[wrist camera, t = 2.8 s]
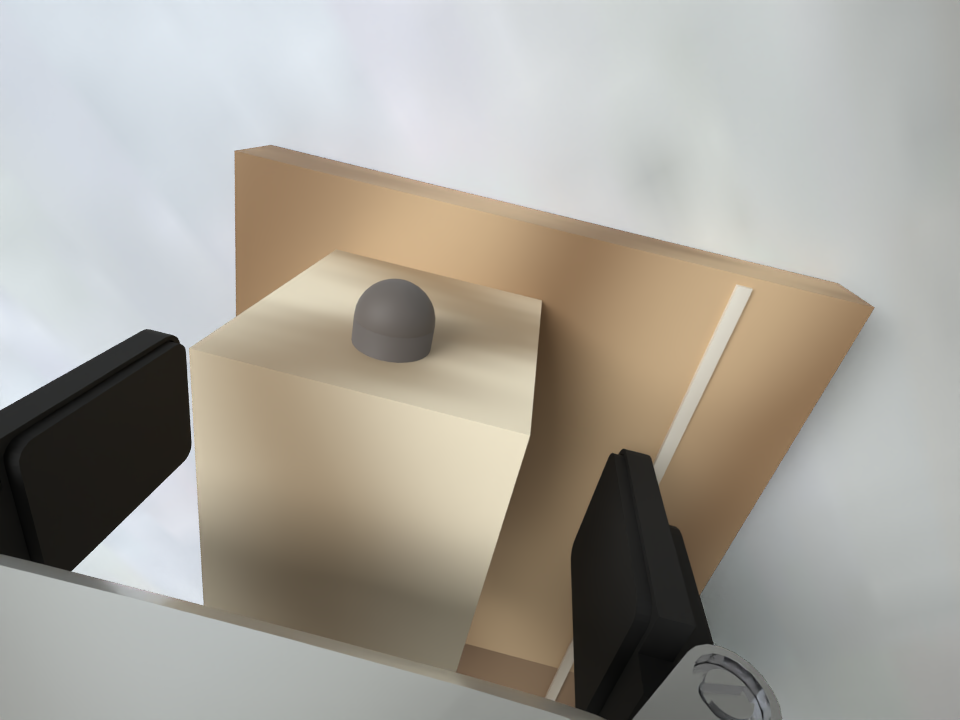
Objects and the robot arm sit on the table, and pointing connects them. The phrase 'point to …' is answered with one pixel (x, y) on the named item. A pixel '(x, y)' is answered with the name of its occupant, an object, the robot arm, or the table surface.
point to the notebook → (577, 368)
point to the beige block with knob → (362, 452)
